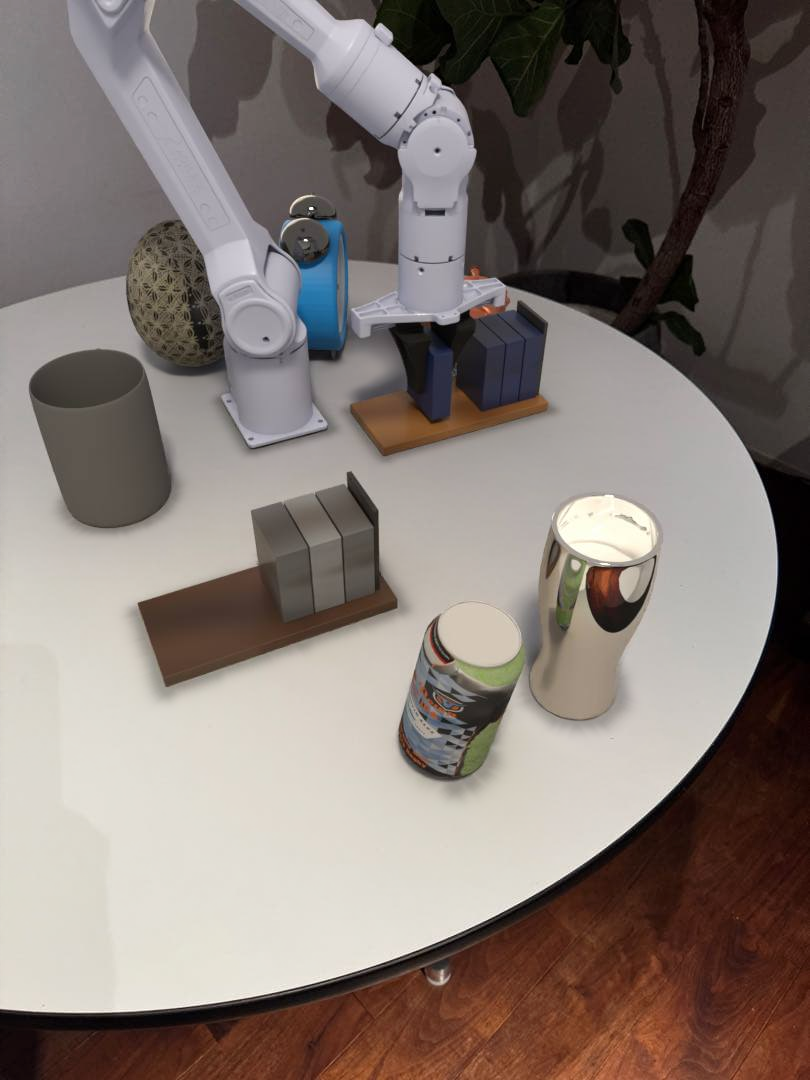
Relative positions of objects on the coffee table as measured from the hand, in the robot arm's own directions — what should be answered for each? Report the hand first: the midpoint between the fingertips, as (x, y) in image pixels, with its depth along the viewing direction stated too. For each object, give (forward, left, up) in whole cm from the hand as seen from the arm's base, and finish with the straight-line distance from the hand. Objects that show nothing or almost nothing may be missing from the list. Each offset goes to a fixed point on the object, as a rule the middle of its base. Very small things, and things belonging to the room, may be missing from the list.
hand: (427, 386), depth 83 cm
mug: (-3, -29, -4) cm, 30 cm away
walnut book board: (+18, -23, -4) cm, 29 cm away
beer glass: (+34, -6, -4) cm, 35 cm away
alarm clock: (-18, -5, -4) cm, 19 cm away
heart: (-14, +10, -4) cm, 18 cm away
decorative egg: (-20, -18, -4) cm, 27 cm away
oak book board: (0, +2, -4) cm, 4 cm away
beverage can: (+35, -16, -4) cm, 38 cm away
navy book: (0, 0, -2) cm, 2 cm away
